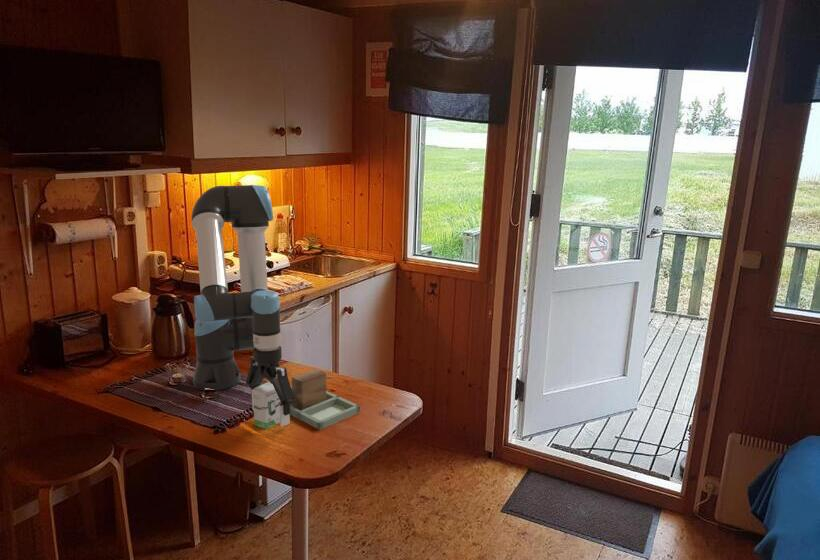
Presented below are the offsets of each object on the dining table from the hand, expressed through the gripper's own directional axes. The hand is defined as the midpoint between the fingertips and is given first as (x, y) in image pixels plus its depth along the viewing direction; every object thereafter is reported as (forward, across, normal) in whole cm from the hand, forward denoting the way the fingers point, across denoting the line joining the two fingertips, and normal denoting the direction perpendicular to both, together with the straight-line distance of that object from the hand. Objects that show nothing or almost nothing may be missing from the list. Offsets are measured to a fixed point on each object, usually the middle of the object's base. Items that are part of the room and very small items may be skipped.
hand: (270, 416), depth 172 cm
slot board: (+2, +4, +14) cm, 15 cm away
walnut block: (+1, 0, +14) cm, 14 cm away
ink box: (+2, 0, 0) cm, 2 cm away
